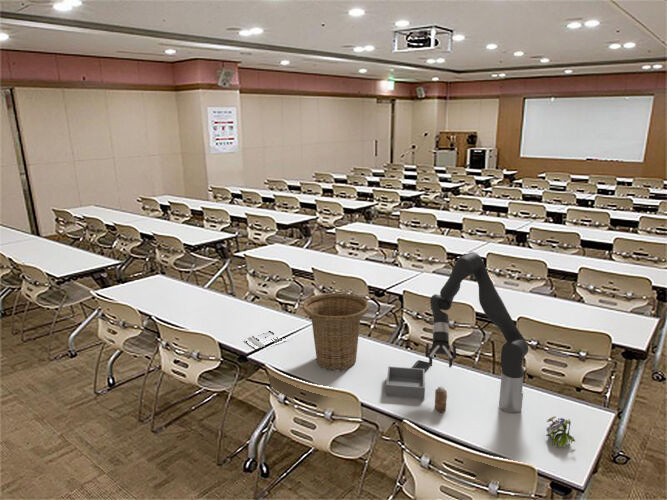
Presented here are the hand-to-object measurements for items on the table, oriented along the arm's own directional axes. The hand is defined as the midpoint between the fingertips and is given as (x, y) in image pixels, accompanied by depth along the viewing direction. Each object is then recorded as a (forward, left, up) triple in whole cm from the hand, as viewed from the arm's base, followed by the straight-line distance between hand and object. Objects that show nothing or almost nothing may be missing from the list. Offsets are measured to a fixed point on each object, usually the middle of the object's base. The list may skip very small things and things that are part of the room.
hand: (440, 366), depth 227 cm
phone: (+9, -24, -16) cm, 30 cm away
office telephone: (+100, -46, -16) cm, 111 cm away
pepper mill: (0, +12, -15) cm, 19 cm away
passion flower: (-47, +27, -15) cm, 56 cm away
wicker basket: (+54, -26, -15) cm, 62 cm away
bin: (+16, -4, -15) cm, 22 cm away
